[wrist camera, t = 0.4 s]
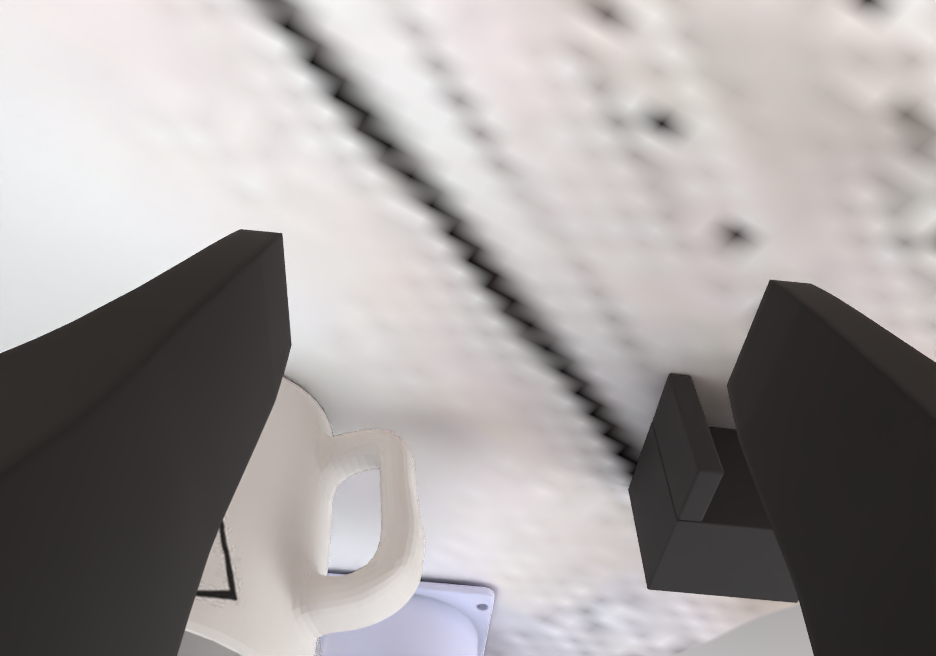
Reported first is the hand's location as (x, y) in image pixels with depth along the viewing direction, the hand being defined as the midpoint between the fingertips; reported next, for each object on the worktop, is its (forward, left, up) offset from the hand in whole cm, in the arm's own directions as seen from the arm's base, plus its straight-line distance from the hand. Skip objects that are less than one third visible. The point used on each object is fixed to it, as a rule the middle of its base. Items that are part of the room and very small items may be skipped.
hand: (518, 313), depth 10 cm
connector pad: (-11, -9, -10) cm, 18 cm away
